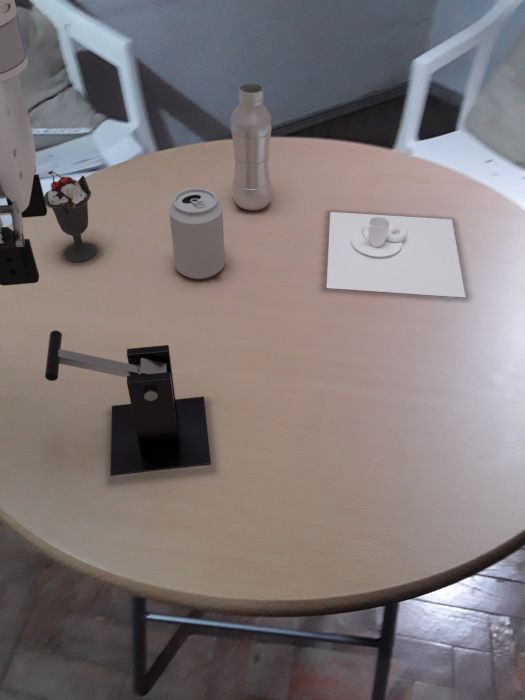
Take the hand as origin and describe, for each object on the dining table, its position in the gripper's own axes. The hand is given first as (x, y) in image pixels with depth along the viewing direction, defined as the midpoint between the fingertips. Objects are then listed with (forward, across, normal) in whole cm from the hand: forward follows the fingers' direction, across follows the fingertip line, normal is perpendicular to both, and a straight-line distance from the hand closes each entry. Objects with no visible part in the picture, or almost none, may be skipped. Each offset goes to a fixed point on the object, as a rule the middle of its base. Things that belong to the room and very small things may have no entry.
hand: (25, 246), depth 59 cm
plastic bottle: (+28, -47, +27) cm, 61 cm away
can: (+28, -31, +17) cm, 45 cm away
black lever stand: (+28, +1, +9) cm, 29 cm away
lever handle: (+16, +1, +4) cm, 17 cm away
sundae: (+28, -37, -1) cm, 47 cm away
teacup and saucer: (+28, -31, +47) cm, 62 cm away
